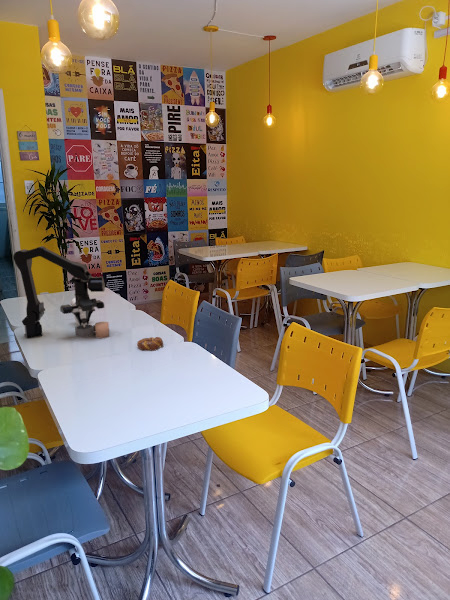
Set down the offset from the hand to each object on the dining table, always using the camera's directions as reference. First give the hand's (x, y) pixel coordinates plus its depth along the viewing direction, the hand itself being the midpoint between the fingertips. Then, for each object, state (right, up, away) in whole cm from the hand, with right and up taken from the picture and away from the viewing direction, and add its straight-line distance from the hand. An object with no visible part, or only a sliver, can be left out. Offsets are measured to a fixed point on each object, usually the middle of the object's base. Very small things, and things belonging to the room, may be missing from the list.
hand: (84, 324), depth 207 cm
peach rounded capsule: (+9, -5, -1) cm, 10 cm away
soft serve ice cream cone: (-7, -1, +18) cm, 19 cm away
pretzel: (+33, -9, -15) cm, 38 cm away
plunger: (0, -4, +1) cm, 4 cm away
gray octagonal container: (+1, -4, +2) cm, 5 cm away
